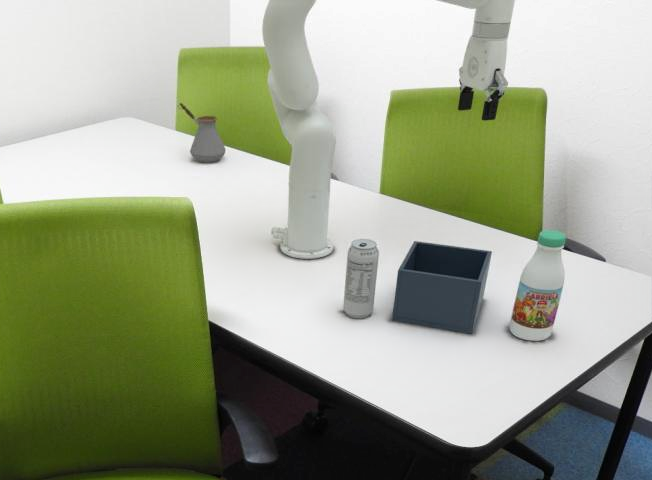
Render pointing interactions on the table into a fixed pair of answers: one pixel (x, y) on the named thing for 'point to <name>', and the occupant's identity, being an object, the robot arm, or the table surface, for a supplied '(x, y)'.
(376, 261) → the energy drink can
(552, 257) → the milk bottle
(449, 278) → the open storage box
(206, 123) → the coffee pot
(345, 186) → the table surface
